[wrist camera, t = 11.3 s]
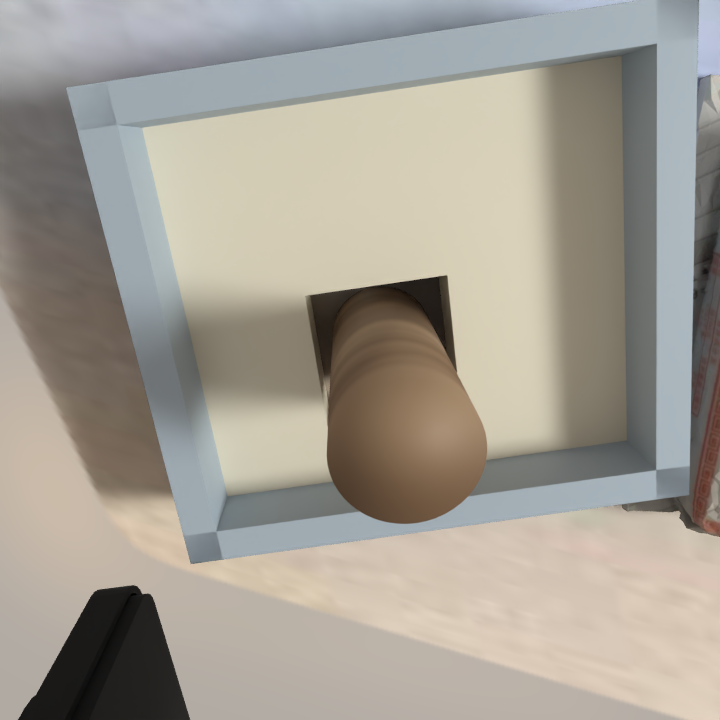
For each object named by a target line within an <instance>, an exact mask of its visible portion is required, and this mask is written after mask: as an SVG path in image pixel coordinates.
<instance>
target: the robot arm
mask: <svg viewBox="0 0 720 720" xmlns="http://www.w3.org/2000/svg"><path fill="white" fill-rule="evenodd" d="M18 720H190V718H189V714H188V711H187V708H186V705H185V701H184V698H183V695H182V691H181V688H180V685H179V681H178V678H177V675H176V672H175V668H174V665H173V662H172V659H171V655H170V652H169V649H168V645H167V643H166V639H165V635H164V632H163V629H162V625H161V623H160V619H159V616H158V612H157V609H156V606H155V602H154V600H153V597H152V596H151V595H150V594H142V593H141V591H140V589H139V588H138V587H137V586H134V585H132V586H124V587H116V588H109V589H101V590H97V591H95V592H94V594H93V595H92V596H91V597H90V599H89V601H88V603H87V604H86V606H85V608H84V610H83V612H82V613H81V615H80V617H79V619H78V621H77V623H76V624H75V626H74V628H73V630H72V631H71V633H70V635H69V637H68V639H67V640H66V642H65V644H64V646H63V647H62V650H61V651H60V653H59V655H58V656H57V658H56V660H55V662H54V664H53V665H52V667H51V669H50V671H49V673H48V674H47V676H46V678H45V680H44V682H43V683H42V685H41V687H40V689H39V691H38V692H37V694H36V696H34V697H33V698H32V699H31V700H30V702H29V703H28V704H27V706H26V707H25V708H24V710H23V712H22V714H21V716H20V717H19V719H18Z"/></svg>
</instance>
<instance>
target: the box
mask: <svg viewBox="0 0 720 720" xmlns="http://www.w3.org/2000/svg"><path fill="white" fill-rule="evenodd" d="M698 22H699V0H639V1H632V2H625V3H619V4H612V5H606V6H599V7H593V8H586V9H579V10H573V11H566V12H560V13H553V14H547V15H540V16H533V17H527V18H520V19H514V20H507V21H500V22H494V23H487V24H481V25H474V26H468V27H461V28H454V29H448V30H441V31H435V32H428V33H421V34H415V35H408V36H402V37H395V38H389V39H382V40H375V41H369V42H362V43H356V44H349V45H342V46H336V47H329V48H323V49H316V50H310V51H303V52H296V53H290V54H283V55H277V56H270V57H263V58H257V59H250V60H244V61H237V62H231V63H224V64H217V65H211V66H204V67H198V68H191V69H184V70H178V71H171V72H165V73H158V74H152V75H145V76H138V77H132V78H125V79H119V80H112V81H105V82H99V83H92V84H86V85H79V86H73V87H66V90H67V94H68V97H69V101H70V105H71V109H72V113H73V116H74V120H75V124H76V128H77V132H78V136H79V139H80V143H81V147H82V151H83V155H84V158H85V162H86V166H87V170H88V174H89V177H90V181H91V185H92V189H93V193H94V197H95V200H96V204H97V208H98V212H99V216H100V219H101V223H102V227H103V231H104V235H105V238H106V242H107V246H108V250H109V254H110V258H111V261H112V265H113V269H114V273H115V277H116V280H117V284H118V288H119V292H120V296H121V299H122V303H123V307H124V311H125V315H126V319H127V322H128V326H129V330H130V334H131V338H132V341H133V345H134V349H135V353H136V357H137V360H138V364H139V368H140V372H141V376H142V379H143V383H144V387H145V391H146V395H147V399H148V402H149V406H150V410H151V414H152V418H153V421H154V425H155V429H156V433H157V437H158V440H159V444H160V448H161V452H162V456H163V460H164V463H165V467H166V471H167V475H168V479H169V482H170V486H171V490H172V494H173V498H174V501H175V505H176V509H177V513H178V517H179V521H180V524H181V528H182V532H183V536H184V540H185V543H186V547H187V551H188V555H189V559H190V562H191V564H195V563H202V562H209V561H216V560H223V559H231V558H238V557H245V556H252V555H259V554H267V553H274V552H281V551H288V550H296V549H303V548H310V547H317V546H324V545H332V544H339V543H346V542H353V541H360V540H368V539H375V538H382V537H389V536H397V535H404V534H411V533H418V532H425V531H433V530H440V529H447V528H454V527H461V526H469V525H476V524H483V523H490V522H498V521H505V520H512V519H519V518H526V517H534V516H541V515H548V514H555V513H562V512H570V511H577V510H584V509H591V508H599V507H606V506H613V505H620V504H627V503H635V502H642V501H649V500H656V499H664V498H671V497H678V496H685V495H689V479H690V428H691V377H692V326H693V276H694V225H695V174H696V123H697V73H698ZM438 276H439V283H440V292H441V302H442V311H443V321H444V330H445V340H446V350H447V355H448V357H449V359H450V361H451V363H452V365H453V367H454V369H455V371H456V373H457V375H458V377H459V379H460V380H461V382H462V384H463V386H464V388H465V390H466V392H467V394H468V396H469V398H470V400H471V402H472V404H473V406H474V408H475V409H476V411H477V413H478V415H479V417H480V419H481V421H482V424H483V427H484V430H485V433H486V439H487V458H486V463H485V467H484V471H483V473H482V475H481V478H480V480H479V482H478V483H477V485H476V487H475V488H474V490H473V491H472V492H471V493H470V495H469V496H468V497H467V498H466V499H465V500H464V501H463V502H462V503H461V504H459V505H458V506H457V507H455V508H454V509H453V510H451V511H449V512H448V513H446V514H444V515H442V516H440V517H437V518H435V519H432V520H428V521H425V522H420V523H412V524H395V523H388V522H384V521H380V520H376V519H374V518H372V517H369V516H367V515H365V514H363V513H362V512H360V511H358V510H357V509H355V508H354V507H353V506H351V505H350V504H349V503H348V502H347V501H346V500H345V499H344V498H343V496H342V495H341V494H340V493H339V491H338V490H337V488H336V486H335V485H334V483H333V481H332V478H331V476H330V473H329V469H328V465H327V435H328V416H329V402H328V397H327V391H326V385H325V379H324V373H323V367H322V361H321V355H320V349H319V343H318V337H317V332H316V326H315V320H314V314H313V308H312V302H311V296H310V295H314V294H321V293H328V292H335V291H342V290H349V289H355V288H362V287H369V286H376V285H383V284H390V283H397V282H404V281H410V280H417V279H424V278H431V277H438Z"/></svg>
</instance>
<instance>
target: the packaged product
mask: <svg viewBox="0 0 720 720" xmlns="http://www.w3.org/2000/svg"><path fill="white" fill-rule="evenodd" d="M622 508H623V509H625V510H626V511H633V510H635V511H656V512H674V511H680V512H681V514H680V517H679V518H680V519H681V520H682V521H683V522H684V524H685V526H686V528H688V529H691V530H693V531H696V532H699V533H707V534H710V535H713V536H718V537H720V75H709V76H707V77H704V78H702V79H700V84H699V89H698V93H697V123H696V174H695V225H694V276H693V326H692V377H691V428H690V479H689V495H685V496H678V497H671V498H664V499H656V500H649V501H642V502H635V503H627V504H622Z"/></svg>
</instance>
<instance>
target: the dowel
mask: <svg viewBox="0 0 720 720" xmlns="http://www.w3.org/2000/svg"><path fill="white" fill-rule="evenodd" d="M486 458H487V439H486V433H485V430H484V427H483V424H482V421H481V419H480V417H479V415H478V413H477V411H476V409H475V408H474V406H473V404H472V402H471V400H470V398H469V396H468V394H467V392H466V390H465V388H464V386H463V384H462V382H461V380H460V379H459V377H458V375H457V373H456V371H455V369H454V367H453V365H452V363H451V361H450V359H449V357H448V355H447V353H446V351H445V350H444V348H443V346H442V344H441V342H440V340H439V338H438V336H437V334H436V332H435V330H434V328H433V326H432V324H431V322H430V321H429V319H428V317H427V315H426V313H425V311H424V309H423V308H422V306H421V305H420V304H419V302H418V301H417V300H416V299H415V298H413V297H412V296H411V295H409V294H408V293H406V292H404V291H402V290H400V289H397V288H393V287H386V286H379V287H372V288H368V289H365V290H362V291H360V292H358V293H356V294H355V295H353V296H352V297H351V298H349V299H348V300H347V301H346V302H345V303H344V305H343V306H342V307H341V309H340V310H339V312H338V314H337V316H336V319H335V322H334V326H333V339H332V358H331V377H330V397H329V416H328V435H327V465H328V469H329V473H330V476H331V478H332V481H333V483H334V485H335V486H336V488H337V490H338V491H339V493H340V494H341V495H342V496H343V498H344V499H345V500H346V501H347V502H348V503H349V504H350V505H351V506H353V507H354V508H355V509H357V510H358V511H360V512H362V513H363V514H365V515H367V516H369V517H372V518H374V519H376V520H380V521H384V522H388V523H395V524H412V523H420V522H425V521H428V520H432V519H435V518H437V517H440V516H442V515H444V514H446V513H448V512H449V511H451V510H453V509H454V508H455V507H457V506H458V505H459V504H461V503H462V502H463V501H464V500H465V499H466V498H467V497H468V496H469V495H470V493H471V492H472V491H473V490H474V488H475V487H476V485H477V483H478V482H479V480H480V478H481V475H482V473H483V471H484V467H485V463H486Z"/></svg>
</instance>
